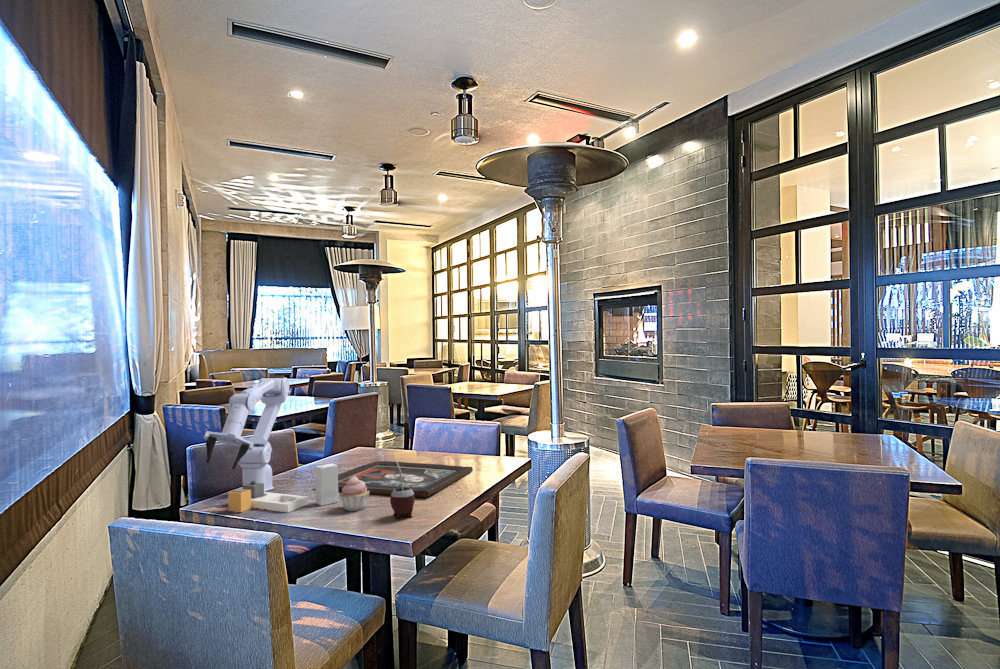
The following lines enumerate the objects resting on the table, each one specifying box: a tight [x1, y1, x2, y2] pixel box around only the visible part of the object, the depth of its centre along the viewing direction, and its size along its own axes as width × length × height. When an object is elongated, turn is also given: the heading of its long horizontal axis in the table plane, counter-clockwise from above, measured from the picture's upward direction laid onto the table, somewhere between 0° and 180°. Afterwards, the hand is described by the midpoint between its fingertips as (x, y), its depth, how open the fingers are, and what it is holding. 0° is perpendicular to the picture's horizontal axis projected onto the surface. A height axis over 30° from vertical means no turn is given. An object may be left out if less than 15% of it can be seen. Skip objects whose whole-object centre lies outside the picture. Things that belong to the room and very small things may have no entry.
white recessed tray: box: [227, 491, 309, 513], centre depth 182 cm, size 9×24×3 cm, turn 69°
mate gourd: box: [389, 461, 416, 521], centre depth 168 cm, size 8×8×15 cm
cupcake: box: [338, 476, 370, 512], centre depth 176 cm, size 9×9×10 cm
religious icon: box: [338, 460, 474, 498], centre depth 211 cm, size 40×45×3 cm
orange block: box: [227, 487, 252, 513], centre depth 176 cm, size 4×5×6 cm
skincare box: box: [314, 462, 339, 506], centre depth 183 cm, size 6×4×12 cm
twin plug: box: [241, 481, 264, 499], centre depth 184 cm, size 4×5×7 cm
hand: (220, 464), depth 175 cm, fingers open, 7 cm apart
